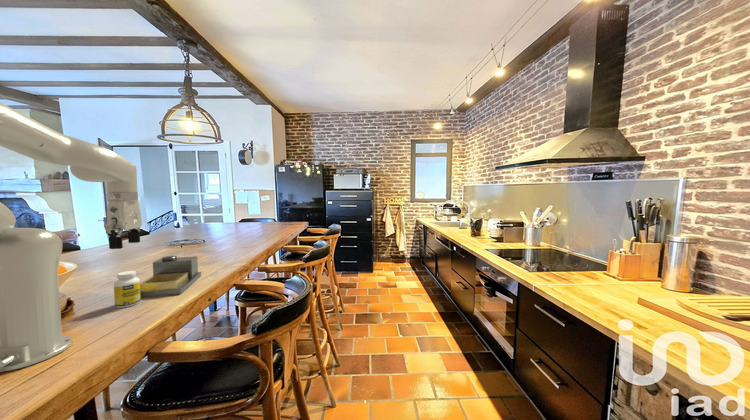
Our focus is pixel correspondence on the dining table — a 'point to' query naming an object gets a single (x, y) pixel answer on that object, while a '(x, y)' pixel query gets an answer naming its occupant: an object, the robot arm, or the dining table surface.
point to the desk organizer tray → (170, 276)
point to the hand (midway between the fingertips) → (125, 245)
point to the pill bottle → (126, 289)
